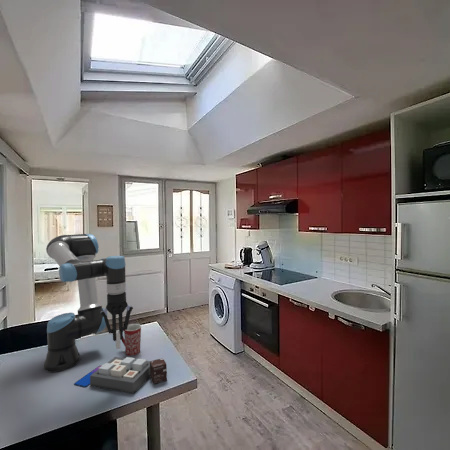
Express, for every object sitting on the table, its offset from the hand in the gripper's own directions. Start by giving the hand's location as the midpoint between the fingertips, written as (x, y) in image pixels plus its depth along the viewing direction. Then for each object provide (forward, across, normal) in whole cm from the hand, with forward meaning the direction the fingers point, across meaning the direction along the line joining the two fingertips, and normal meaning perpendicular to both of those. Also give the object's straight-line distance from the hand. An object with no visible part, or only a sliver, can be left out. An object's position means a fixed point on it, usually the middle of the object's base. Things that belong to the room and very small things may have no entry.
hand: (118, 347), depth 112 cm
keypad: (+15, +2, +2) cm, 16 cm away
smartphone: (+16, -9, +12) cm, 22 cm away
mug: (+16, +9, +26) cm, 32 cm away
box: (+16, +15, -6) cm, 23 cm away
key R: (+12, +5, +5) cm, 14 cm away
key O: (+12, -4, +4) cm, 13 cm away
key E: (+12, +9, 0) cm, 15 cm away
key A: (+14, 0, +9) cm, 16 cm away
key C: (+14, +4, -4) cm, 15 cm away
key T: (+12, 0, 0) cm, 12 cm away
